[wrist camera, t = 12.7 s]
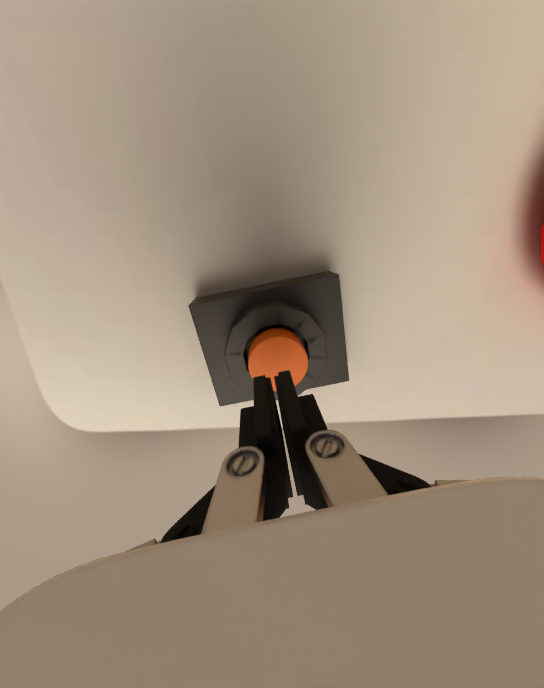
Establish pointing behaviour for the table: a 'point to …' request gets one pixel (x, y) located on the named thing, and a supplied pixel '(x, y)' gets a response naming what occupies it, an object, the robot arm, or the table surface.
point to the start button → (277, 355)
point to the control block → (272, 312)
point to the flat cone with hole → (542, 244)
